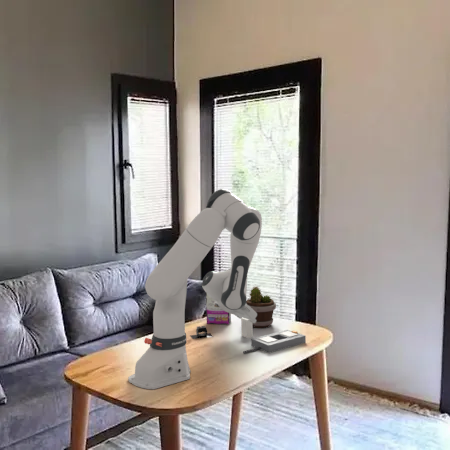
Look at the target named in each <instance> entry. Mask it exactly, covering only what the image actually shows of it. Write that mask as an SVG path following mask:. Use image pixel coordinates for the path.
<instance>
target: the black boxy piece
mask: <svg viewBox="0 0 450 450" xmlns="http://www.w3.org/2000/svg"><path fill="white" fill-rule="evenodd" d="M195 332H196V334H193V335H192V334H191V335H189V337H190V338H191V339H192V340H197V339H204V338H205V339H207V338H214V335H213V334H212V333H211V332H209V333H208V329H207V326H205V325H201V326H196V329H195Z"/></svg>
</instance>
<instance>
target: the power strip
mask: <svg viewBox="0 0 450 450" xmlns="http://www.w3.org/2000/svg"><path fill="white" fill-rule="evenodd" d="M306 338H307V337H306V335H305V334H302V333H300V332H299V331H296V330H289V329H285V330H280V331H276V332H273V333H269V334H264V335H261V336H257V337H251V338H250V339H251V341H250V342H251V347H253V348H250V349H246V350H244V351H243V352H242V353H243V354H248V353H252V352H256V351H259V350H260V351H264V352H266V353H269V354H270V353H272V352H277V351H280V350H284V349H288V348H291V347H295V346H298V345H302V344H306V342H307V341H306Z"/></svg>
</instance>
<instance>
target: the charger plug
mask: <svg viewBox="0 0 450 450" xmlns="http://www.w3.org/2000/svg"><path fill="white" fill-rule="evenodd" d="M240 321H241V327H240V328H241V331H240V332H241V337H244V338H245V339H249V338H250V339H251V338H254V337H253V334H254V333H253V332H254V331H253V328H254V327H253V323H252V322H251V321H250V320H249V319H246V318H243V317H242V318H241V319H240Z"/></svg>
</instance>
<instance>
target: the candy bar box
mask: <svg viewBox="0 0 450 450" xmlns="http://www.w3.org/2000/svg"><path fill="white" fill-rule="evenodd" d="M205 302H206V304H205V306H206V307H205V309H206V310H205V311H206V324H207V325H230V324H231V323H232V314H231V313H228V312H225V311H224V310H223V309H221V308H220V307H219V306H216V305H215V304H214V302H215V300H214V299H212V298H211V297H210V296H209V295H208V294H207V293H206V292H205Z"/></svg>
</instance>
